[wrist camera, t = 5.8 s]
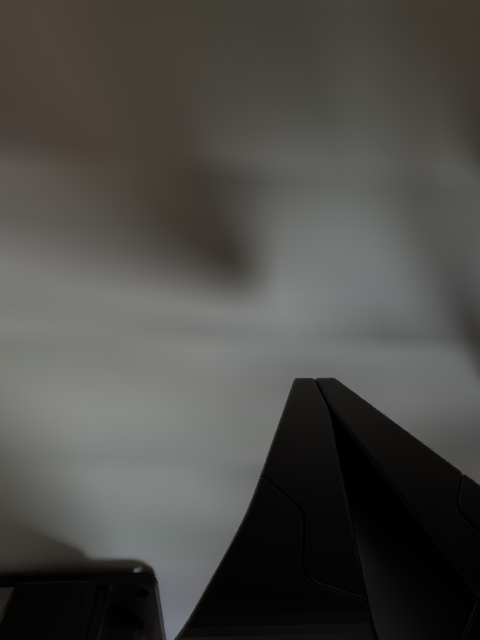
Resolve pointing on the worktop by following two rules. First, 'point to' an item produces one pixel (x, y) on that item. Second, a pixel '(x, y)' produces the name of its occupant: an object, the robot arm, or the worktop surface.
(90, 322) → the worktop surface
